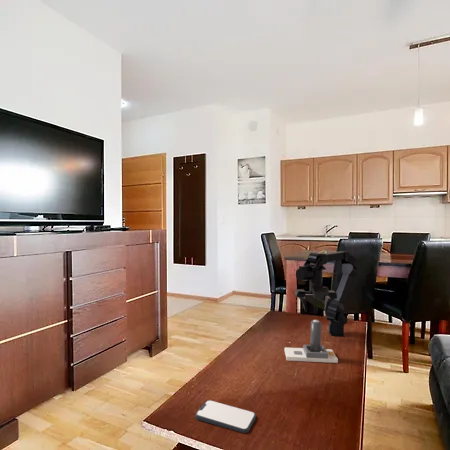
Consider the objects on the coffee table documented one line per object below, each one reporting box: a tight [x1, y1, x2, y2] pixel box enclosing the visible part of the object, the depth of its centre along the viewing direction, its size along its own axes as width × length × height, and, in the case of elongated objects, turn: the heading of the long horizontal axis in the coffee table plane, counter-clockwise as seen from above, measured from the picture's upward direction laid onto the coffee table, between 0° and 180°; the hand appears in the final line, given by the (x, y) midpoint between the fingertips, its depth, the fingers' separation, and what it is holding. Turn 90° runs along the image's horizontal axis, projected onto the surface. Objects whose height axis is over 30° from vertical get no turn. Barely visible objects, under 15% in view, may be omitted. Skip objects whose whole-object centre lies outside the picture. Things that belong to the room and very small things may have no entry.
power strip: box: [284, 344, 339, 364], centre depth 133 cm, size 20×10×4 cm, turn 85°
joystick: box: [309, 319, 322, 352], centre depth 132 cm, size 4×4×14 cm
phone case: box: [194, 399, 257, 434], centre depth 91 cm, size 9×2×16 cm
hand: (315, 311), depth 153 cm, fingers open, 9 cm apart
